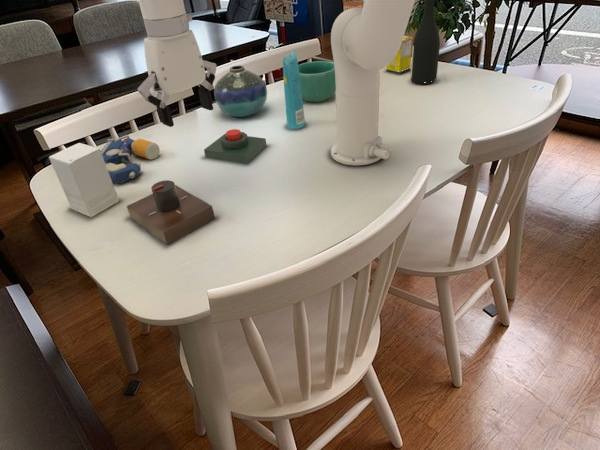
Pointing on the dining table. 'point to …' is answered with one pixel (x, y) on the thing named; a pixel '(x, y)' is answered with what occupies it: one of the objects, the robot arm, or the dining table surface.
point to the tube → (293, 92)
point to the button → (233, 135)
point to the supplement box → (402, 57)
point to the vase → (240, 92)
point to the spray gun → (126, 157)
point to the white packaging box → (84, 179)
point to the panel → (171, 216)
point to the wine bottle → (425, 48)
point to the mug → (317, 80)
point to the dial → (165, 196)
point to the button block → (236, 148)
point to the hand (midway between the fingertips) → (188, 116)
